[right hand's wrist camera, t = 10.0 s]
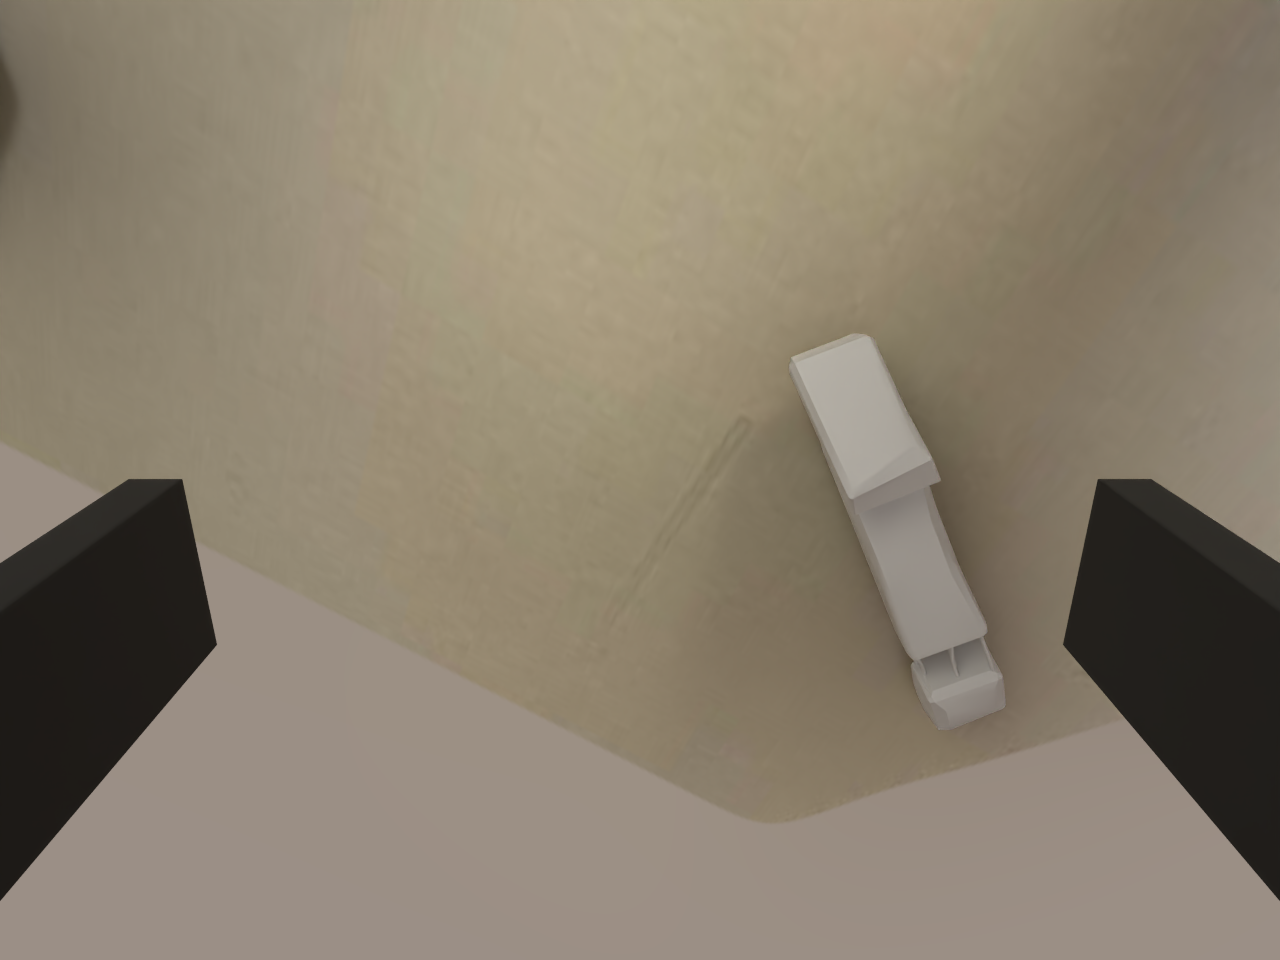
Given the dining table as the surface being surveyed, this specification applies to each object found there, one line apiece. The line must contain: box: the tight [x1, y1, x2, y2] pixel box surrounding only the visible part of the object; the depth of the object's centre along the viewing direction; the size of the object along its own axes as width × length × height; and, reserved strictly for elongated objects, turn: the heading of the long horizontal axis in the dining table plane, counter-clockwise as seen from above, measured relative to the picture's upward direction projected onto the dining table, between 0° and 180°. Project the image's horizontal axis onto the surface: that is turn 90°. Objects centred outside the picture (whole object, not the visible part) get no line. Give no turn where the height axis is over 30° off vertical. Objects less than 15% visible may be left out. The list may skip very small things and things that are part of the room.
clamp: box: [789, 333, 1006, 730], centre depth 37 cm, size 20×4×7 cm, turn 25°
